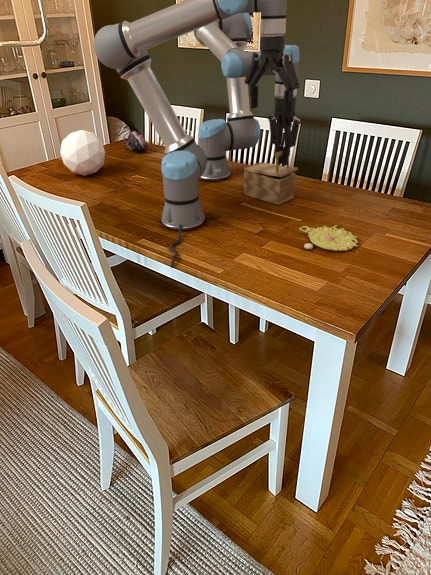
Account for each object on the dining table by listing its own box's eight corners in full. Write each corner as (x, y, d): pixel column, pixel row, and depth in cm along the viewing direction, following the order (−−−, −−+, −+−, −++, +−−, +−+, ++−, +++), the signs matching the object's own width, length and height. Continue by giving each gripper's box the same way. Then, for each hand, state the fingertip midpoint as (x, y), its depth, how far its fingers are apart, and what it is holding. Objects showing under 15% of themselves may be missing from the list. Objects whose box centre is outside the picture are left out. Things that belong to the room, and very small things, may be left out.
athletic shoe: (136, 131, 245) (115, 136, 241) (146, 124, 225) (123, 129, 221) (142, 152, 248) (122, 157, 244) (152, 146, 228) (130, 152, 224)
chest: (294, 197, 173) (295, 173, 168) (278, 205, 167) (279, 180, 162) (259, 187, 183) (260, 164, 178) (243, 194, 177) (243, 171, 172)
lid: (297, 170, 166) (298, 148, 162) (281, 177, 160) (281, 154, 156) (260, 164, 178) (259, 144, 174) (244, 170, 172) (242, 149, 168)
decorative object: (343, 255, 128) (285, 234, 139) (342, 262, 130) (284, 241, 140) (372, 230, 142) (317, 213, 152) (371, 237, 143) (316, 219, 153)
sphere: (92, 190, 205) (77, 164, 186) (61, 170, 209) (44, 142, 190) (118, 162, 209) (107, 134, 191) (87, 142, 214) (73, 113, 195)
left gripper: (314, 35, 127) (308, 113, 139) (249, 34, 142) (248, 104, 154) (299, 37, 123) (294, 117, 134) (233, 35, 138) (234, 107, 149)
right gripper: (309, 97, 149) (304, 166, 162) (275, 93, 158) (272, 158, 171) (296, 100, 145) (291, 171, 157) (261, 96, 154) (260, 163, 167)
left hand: (269, 110), depth 144 cm, fingers open, 13 cm apart
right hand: (281, 164), depth 164 cm, fingers closed on lid, 2 cm apart
